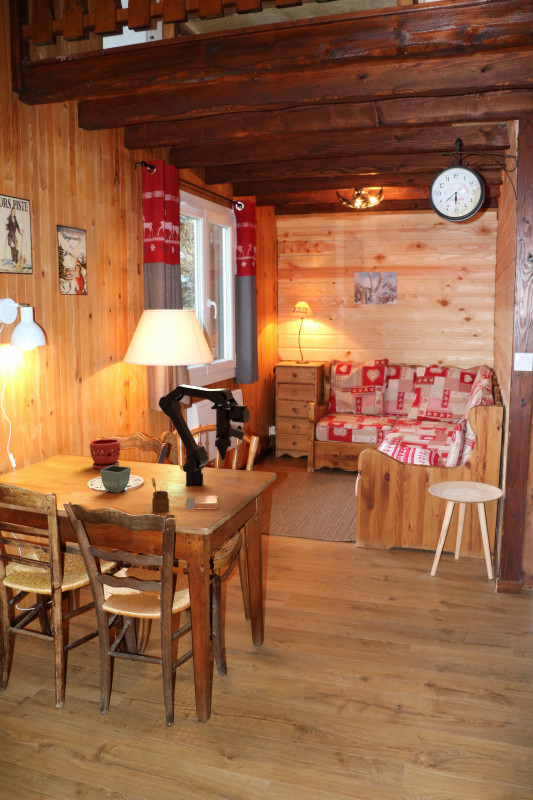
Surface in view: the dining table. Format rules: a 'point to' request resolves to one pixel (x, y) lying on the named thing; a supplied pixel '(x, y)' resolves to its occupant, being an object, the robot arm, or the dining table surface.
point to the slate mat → (190, 503)
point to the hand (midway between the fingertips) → (223, 459)
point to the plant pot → (105, 453)
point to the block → (206, 502)
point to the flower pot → (115, 478)
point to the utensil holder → (160, 500)
